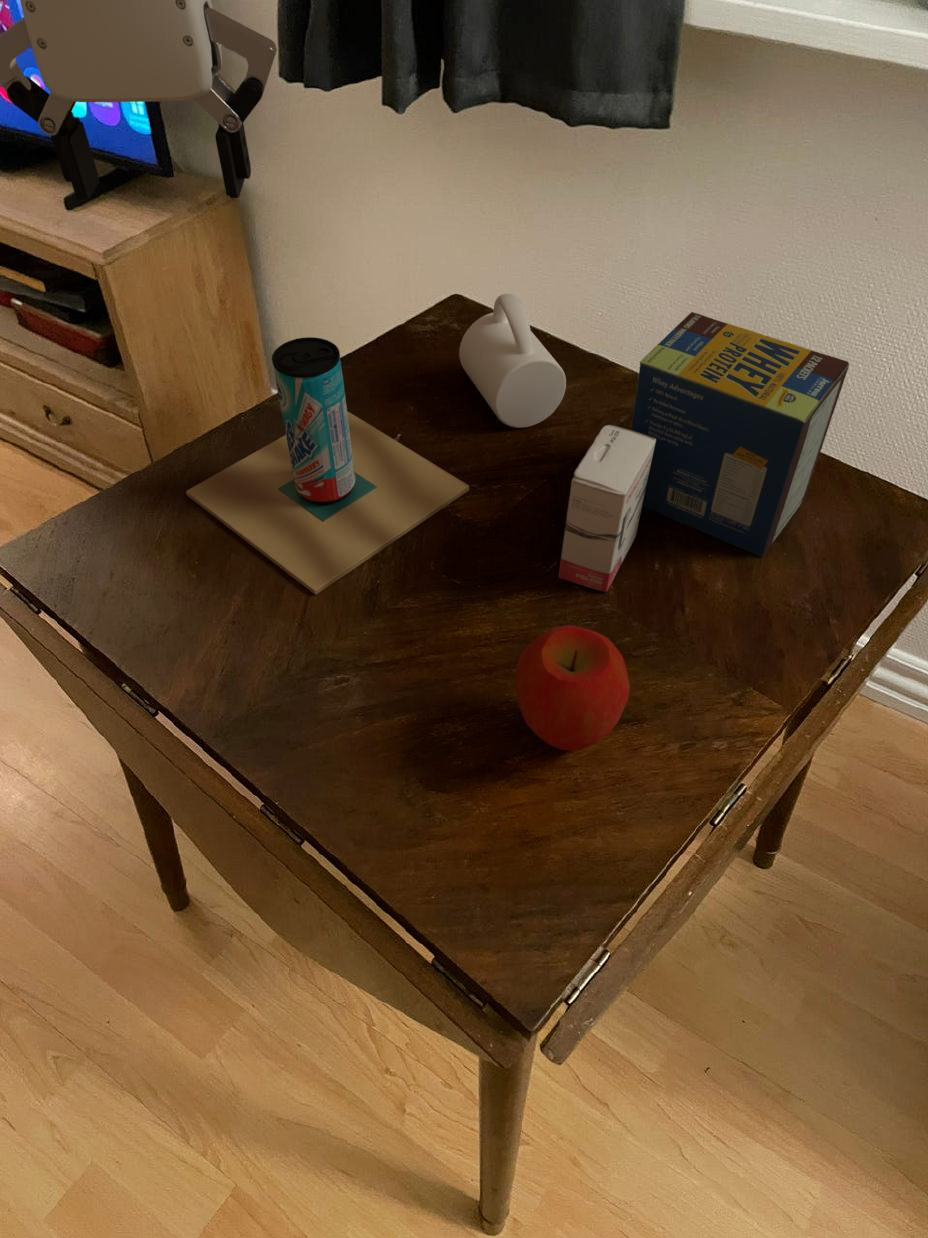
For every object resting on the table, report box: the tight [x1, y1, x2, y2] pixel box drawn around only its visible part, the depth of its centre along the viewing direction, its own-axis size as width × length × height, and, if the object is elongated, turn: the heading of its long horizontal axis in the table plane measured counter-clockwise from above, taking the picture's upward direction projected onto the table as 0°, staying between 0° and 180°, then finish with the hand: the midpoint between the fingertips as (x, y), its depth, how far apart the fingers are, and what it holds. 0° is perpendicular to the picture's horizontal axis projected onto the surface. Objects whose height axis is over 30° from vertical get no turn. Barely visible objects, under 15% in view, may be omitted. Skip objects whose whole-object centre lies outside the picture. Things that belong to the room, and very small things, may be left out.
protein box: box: [630, 311, 850, 558], centre depth 86 cm, size 10×15×16 cm
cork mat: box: [185, 410, 470, 595], centre depth 93 cm, size 20×20×1 cm
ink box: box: [558, 424, 656, 593], centre depth 82 cm, size 9×5×12 cm, turn 155°
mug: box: [458, 293, 567, 429], centre depth 99 cm, size 8×10×12 cm
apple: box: [513, 624, 631, 752], centre depth 69 cm, size 9×8×11 cm
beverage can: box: [271, 336, 355, 505], centre depth 87 cm, size 6×6×15 cm
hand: (162, 190), depth 61 cm, fingers open, 9 cm apart
